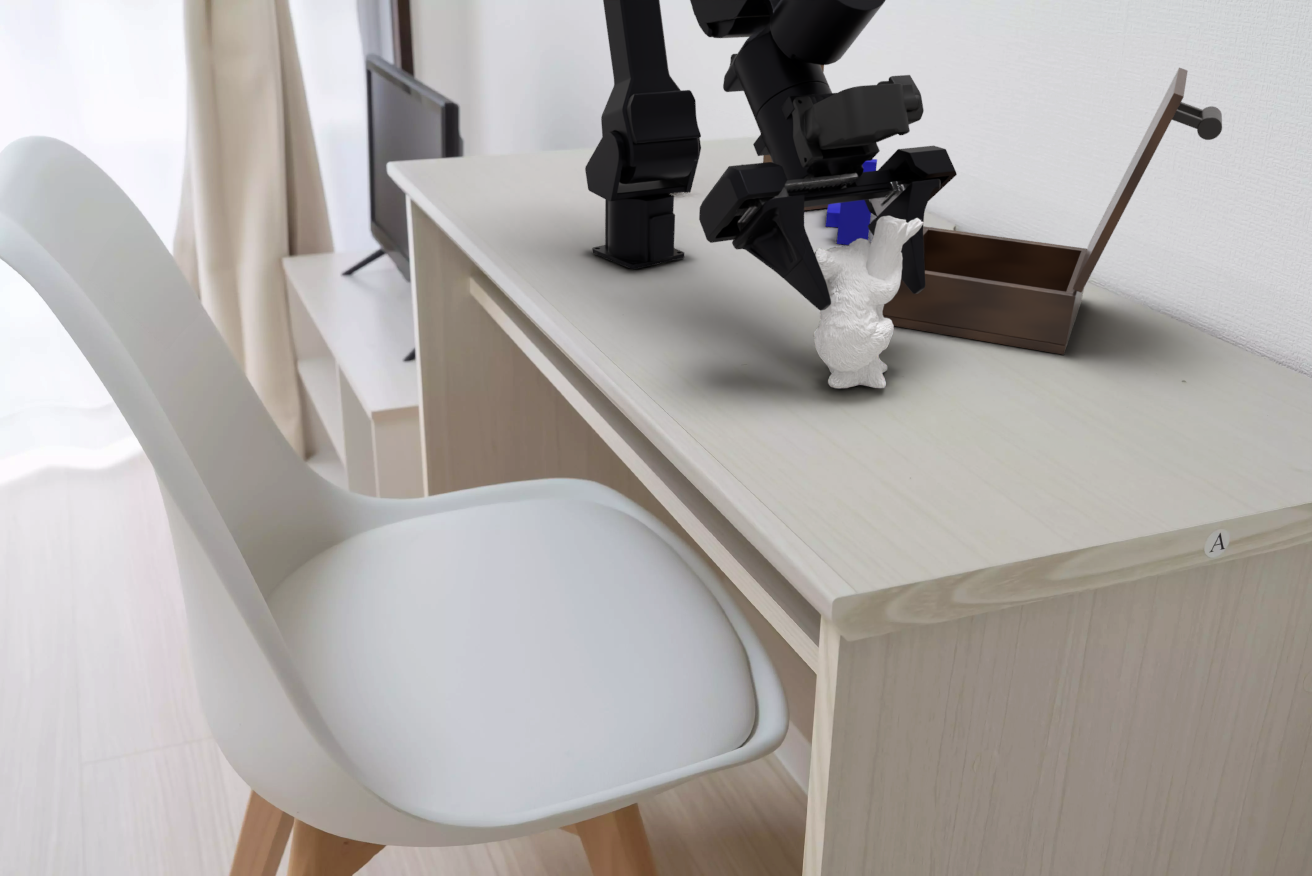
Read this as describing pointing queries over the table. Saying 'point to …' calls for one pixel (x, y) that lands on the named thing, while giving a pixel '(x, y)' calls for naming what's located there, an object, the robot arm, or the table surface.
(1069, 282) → the chest
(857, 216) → the cable clip
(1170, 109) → the chest lid
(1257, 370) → the table surface
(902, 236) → the white sculpted figure
